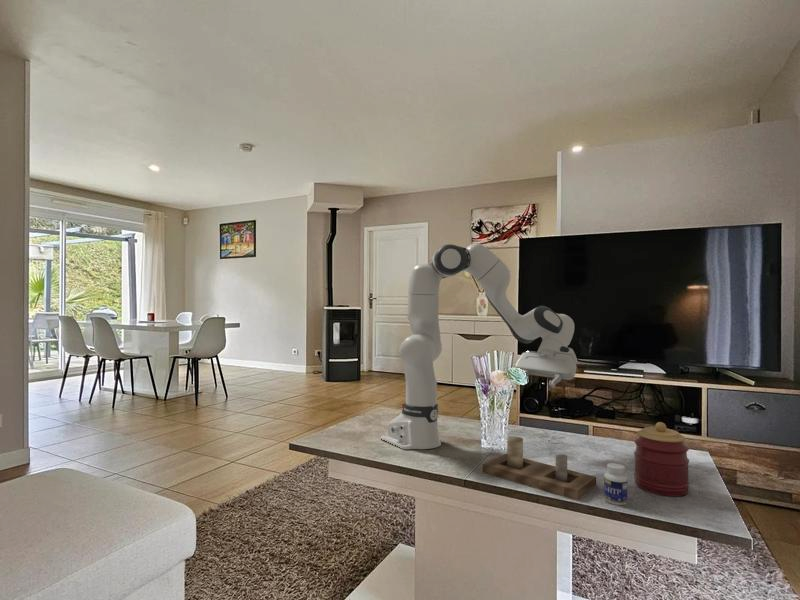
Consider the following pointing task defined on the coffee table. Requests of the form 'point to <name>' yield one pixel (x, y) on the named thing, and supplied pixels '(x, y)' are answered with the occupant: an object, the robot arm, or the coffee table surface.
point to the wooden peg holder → (544, 476)
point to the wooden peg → (515, 452)
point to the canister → (661, 461)
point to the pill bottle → (615, 484)
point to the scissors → (554, 441)
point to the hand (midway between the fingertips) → (537, 384)
